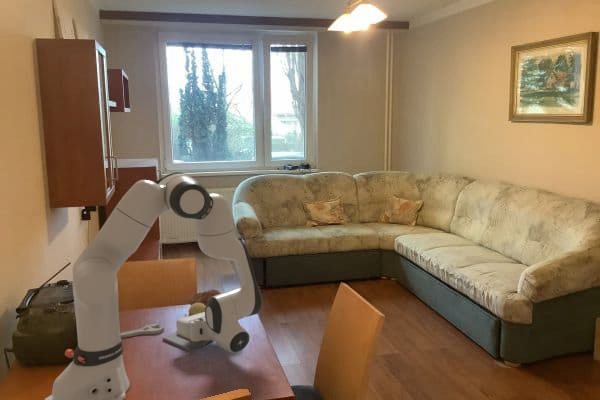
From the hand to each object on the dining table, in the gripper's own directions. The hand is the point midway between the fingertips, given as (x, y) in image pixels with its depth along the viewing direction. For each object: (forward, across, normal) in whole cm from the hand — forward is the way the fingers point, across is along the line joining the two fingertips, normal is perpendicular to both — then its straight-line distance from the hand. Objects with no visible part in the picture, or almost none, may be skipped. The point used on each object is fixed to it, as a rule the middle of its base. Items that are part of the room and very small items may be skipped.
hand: (196, 312), depth 180 cm
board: (-1, 0, +8) cm, 8 cm away
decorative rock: (+14, -10, +8) cm, 19 cm away
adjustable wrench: (+15, +20, +9) cm, 26 cm away
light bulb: (-1, 0, +6) cm, 7 cm away
